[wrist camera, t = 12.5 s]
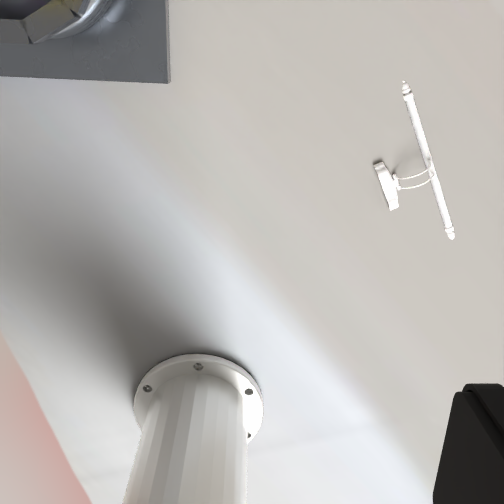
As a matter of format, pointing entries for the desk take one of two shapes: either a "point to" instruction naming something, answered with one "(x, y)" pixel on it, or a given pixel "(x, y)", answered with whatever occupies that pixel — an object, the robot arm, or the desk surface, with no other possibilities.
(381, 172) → the picture light
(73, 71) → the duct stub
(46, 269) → the desk surface
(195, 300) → the desk surface
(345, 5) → the desk surface
